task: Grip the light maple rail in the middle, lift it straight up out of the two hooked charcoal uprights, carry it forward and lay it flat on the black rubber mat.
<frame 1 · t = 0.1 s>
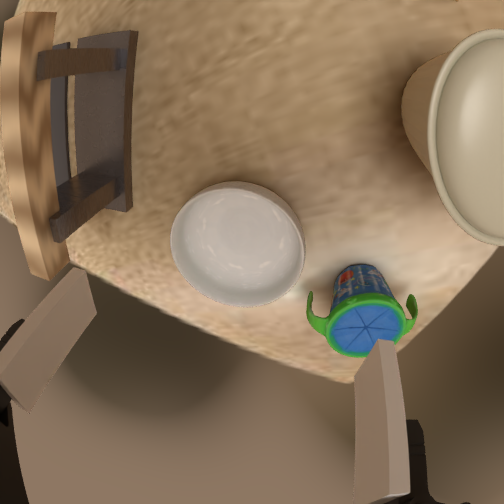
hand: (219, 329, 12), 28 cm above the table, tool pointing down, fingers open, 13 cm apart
black rubber mat: (47, 127, 38), on the table
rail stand: (105, 121, 36), on the table
snack cup: (359, 282, 43), on the table
cereal bowl: (245, 227, 42), on the table
canister: (444, 112, 28), on the table
maple rail: (41, 145, 26), point 13 cm above the table, touching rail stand
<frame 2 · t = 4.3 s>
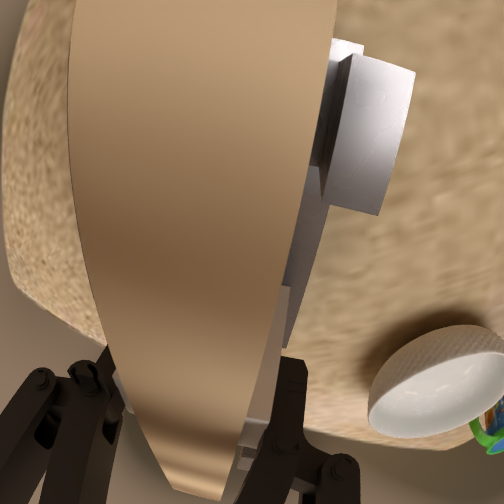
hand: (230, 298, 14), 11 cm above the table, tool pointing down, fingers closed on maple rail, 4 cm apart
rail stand: (263, 206, 23), on the table
snack cup: (502, 381, 30), on the table
cereal bowl: (433, 353, 29), on the table
maple rail: (217, 335, 12), point 13 cm above the table, touching gripper, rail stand
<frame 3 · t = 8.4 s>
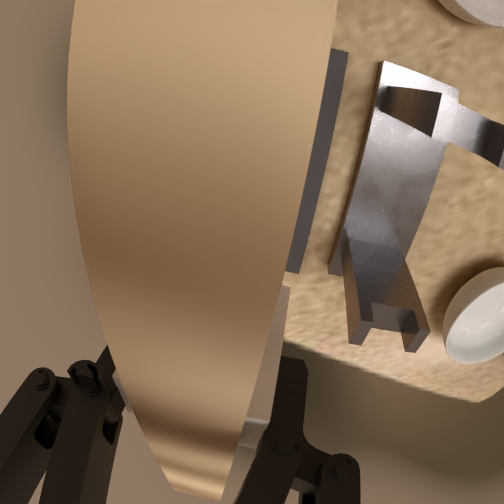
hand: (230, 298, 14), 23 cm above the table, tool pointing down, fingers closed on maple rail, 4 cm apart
black rubber mat: (280, 162, 33), on the table
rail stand: (391, 180, 32), on the table
cereal bowl: (479, 296, 37), on the table
maple rail: (217, 335, 12), point 25 cm above the table, touching gripper
when the fingers open (2 cm above the table, at t = 12.6 s): maple rail drops 4 cm, resting on black rubber mat.
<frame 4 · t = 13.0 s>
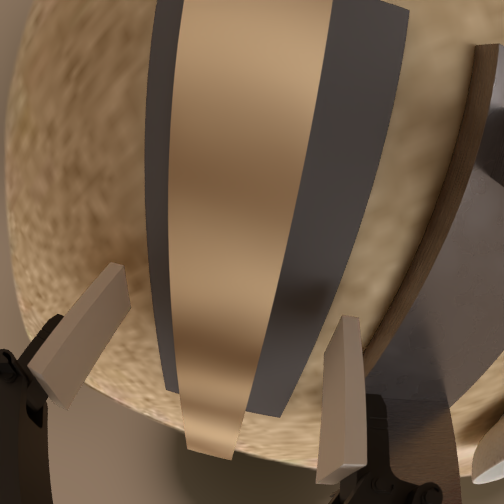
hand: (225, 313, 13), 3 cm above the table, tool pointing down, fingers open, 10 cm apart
black rubber mat: (240, 272, 16), on the table
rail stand: (461, 301, 14), on the table
maple rail: (239, 279, 15), point 1 cm above the table, touching black rubber mat
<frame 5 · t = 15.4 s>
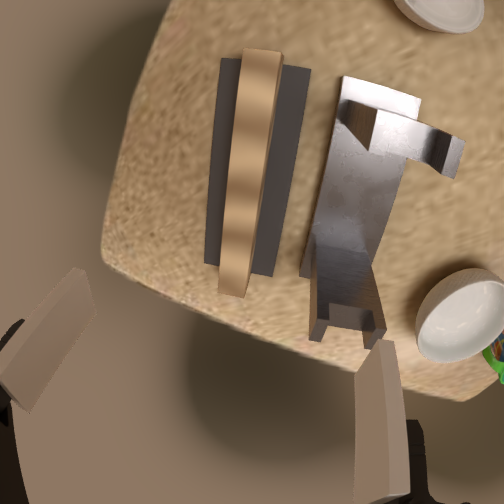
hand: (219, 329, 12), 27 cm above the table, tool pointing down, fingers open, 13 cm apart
black rubber mat: (250, 174, 36), on the table
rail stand: (356, 188, 35), on the table
cereal bowl: (453, 296, 41), on the table
maple rail: (250, 176, 36), point 1 cm above the table, touching black rubber mat
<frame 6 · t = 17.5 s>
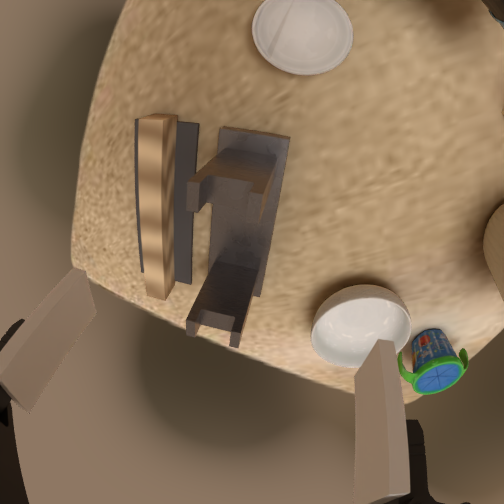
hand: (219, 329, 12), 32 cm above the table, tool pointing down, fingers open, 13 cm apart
black rubber mat: (164, 207, 47), on the table
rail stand: (244, 216, 45), on the table
ramekin: (303, 36, 30), on the table
snack cup: (428, 339, 52), on the table
cereal bowl: (358, 308, 51), on the table
maple rail: (163, 209, 46), point 1 cm above the table, touching black rubber mat
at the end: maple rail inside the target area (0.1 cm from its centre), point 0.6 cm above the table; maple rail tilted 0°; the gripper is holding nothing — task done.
